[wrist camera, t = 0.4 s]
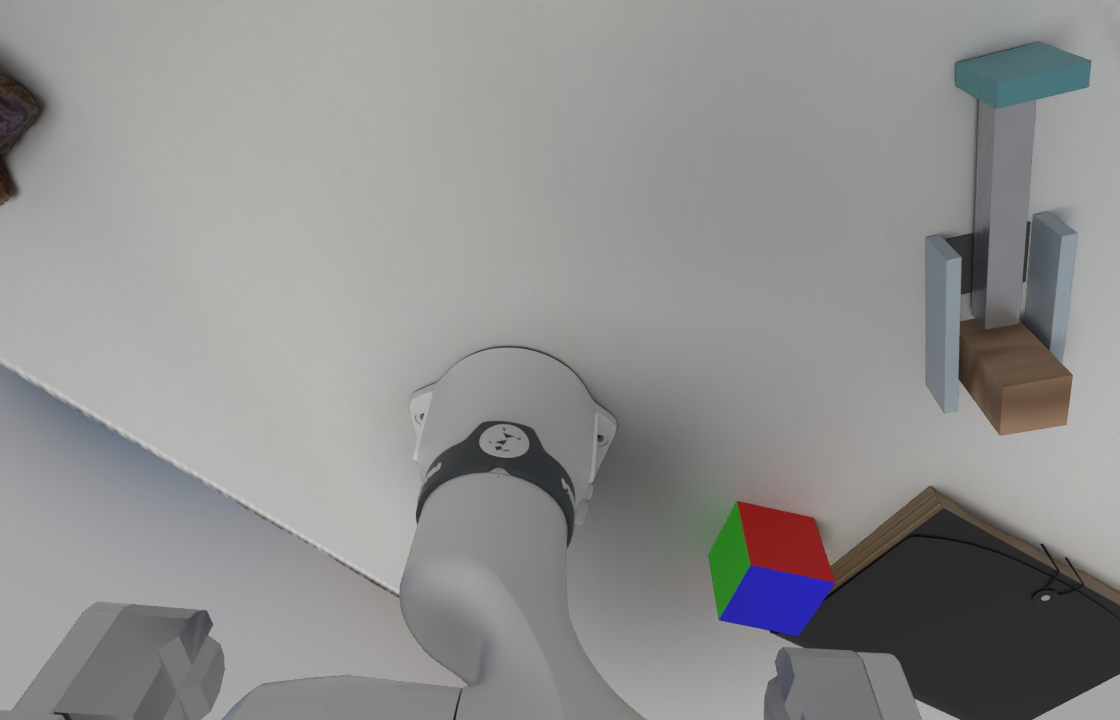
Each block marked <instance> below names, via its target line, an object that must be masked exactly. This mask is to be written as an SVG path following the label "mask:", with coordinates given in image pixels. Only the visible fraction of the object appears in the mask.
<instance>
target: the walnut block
mask: <svg viewBox="0 0 1120 720" xmlns="http://www.w3.org/2000/svg"><path fill="white" fill-rule="evenodd" d="M958 378H959V380H960V381H961V383H962V384H963V385H964V387H965V388H966V390H967V391H968V392H969V394H970V395H971V396H972V398H973V399H974V401H975V402H976V403H977V405H978V406H979V408H980V409H981V410H982V412H983V413H984V415H985V416H986V417H987V419H988V420H989V421H990V423H991V424H992V426H993V427H994V428H995V430H996V431H997V433H998V434H999V435H1000V436H1001V435H1007V434H1013V433H1019V432H1026V431H1032V430H1038V429H1044V428H1050V427H1056V426H1063V425H1066V424H1067V416H1068V409H1069V401H1070V393H1071V385H1072V378H1073V375H1072V374H1071V373H1070V372H1069V371H1068V370H1067V369H1066V368H1065V367H1064V366H1063V364H1062V363H1061V362H1060V361H1059V360H1058V359H1057V358H1056V357H1055V356H1054V355H1053V354H1052V353H1051V352H1050V351H1049V350H1048V349H1047V348H1046V347H1045V346H1044V345H1043V344H1042V343H1041V342H1040V341H1039V340H1038V338H1037V337H1036V336H1035V335H1034V334H1033V333H1032V332H1031V331H1030V330H1029V329H1028V328H1027V327H1026V326H1025V325H1024V324H1023V323H1022V322H1021V321H1020V320H1019V323H1018V324H1013V325H1008V326H1002V327H997V328H992V329H987V330H985V329H984V328H983V327H982V326H981V325H980V324H979V322H978V321H977V320H976V319H970V320H965V321H960V335H959V373H958Z"/></svg>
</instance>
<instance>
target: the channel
mask: <svg viewBox="0 0 1120 720" xmlns="http://www.w3.org/2000/svg"><path fill="white" fill-rule="evenodd" d="M1029 233H1030V222H1027V227H1026V240H1025V253H1024V266H1023V279H1022V282H1026V270H1027V258H1028V245H1029ZM1077 236H1078V233H1077V232H1075V231H1074V230H1073V229H1071V228H1070V227H1068V226H1067V225H1066V224H1064V223H1063V222H1062V221H1060V220H1059V219H1057V218H1056V217H1055V216H1053V215H1052V214H1051V213H1049V212H1043V213H1039V214H1034V215H1033V222H1032V235H1031V247H1030V259H1029V272H1028V284H1027V296H1026V308H1025V321H1024V325H1025V326H1026V327H1027V328H1028V329H1029V330H1030V331H1031V332H1032V333H1033V334H1034V335H1035V336H1036V337H1037V338H1038V340H1039V341H1040V342H1041V343H1042V344H1043V345H1044V346H1045V347H1046V348H1047V349H1048V350H1049V351H1050V352H1051V353H1052V354H1053V355H1054V356H1055V357H1056V358H1057V359H1058V360H1059V361H1060V362H1061V363H1063V354H1064V346H1065V337H1066V329H1067V320H1068V312H1069V303H1070V295H1071V286H1072V278H1073V270H1074V261H1075V253H1076V244H1077ZM973 258H974V233H973V234H968V235H964V236H959V237H954V238H950V239H945V240H944V239H943V238H942V237H941V236H940V235H936V236H931V237H926V386H927V387H928V389H929V390H930V392H931V393H932V395H933V397H934V398H935V400H936V401H937V403H938V404H939V406H940V407H941V409H942V410H943V412H944V413H949V412H955V411H958V373H959V335H960V297H961V294H965V293H970V292H972V286H973Z"/></svg>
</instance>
